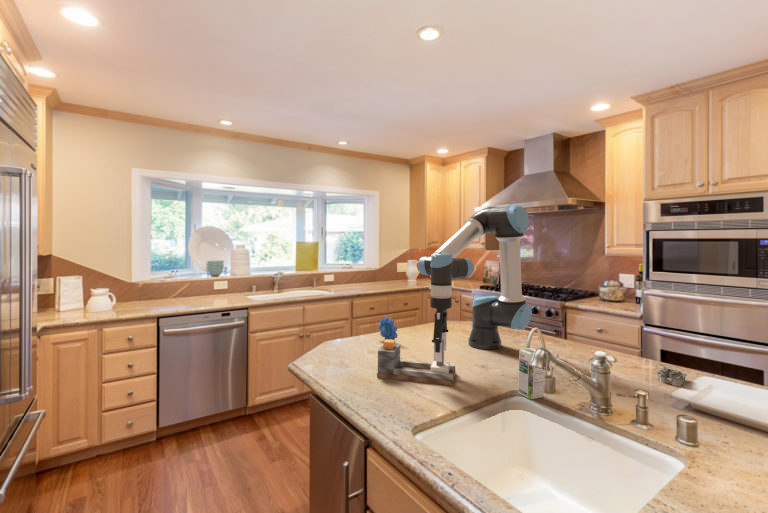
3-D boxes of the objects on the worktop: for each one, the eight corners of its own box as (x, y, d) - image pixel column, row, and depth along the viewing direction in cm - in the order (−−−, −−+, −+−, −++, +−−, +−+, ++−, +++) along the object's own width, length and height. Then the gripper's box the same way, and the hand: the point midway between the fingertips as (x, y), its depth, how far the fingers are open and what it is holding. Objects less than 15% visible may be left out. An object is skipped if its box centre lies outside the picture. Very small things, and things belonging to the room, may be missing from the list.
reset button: (395, 347, 142) (395, 340, 142) (392, 350, 139) (392, 342, 138) (386, 347, 143) (386, 339, 143) (383, 349, 139) (383, 341, 139)
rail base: (455, 373, 140) (455, 348, 140) (452, 385, 129) (452, 358, 128) (385, 366, 148) (385, 342, 147) (376, 377, 136) (377, 351, 136)
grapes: (372, 341, 184) (373, 316, 184) (382, 338, 189) (382, 314, 189) (391, 345, 176) (391, 320, 176) (400, 342, 182) (400, 318, 181)
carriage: (449, 370, 139) (449, 338, 138) (447, 377, 132) (447, 343, 131) (433, 368, 140) (433, 336, 140) (430, 375, 133) (430, 341, 133)
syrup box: (517, 393, 123) (518, 349, 122) (531, 390, 125) (532, 347, 124) (530, 400, 117) (531, 354, 117) (544, 397, 120) (545, 352, 119)
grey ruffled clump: (679, 388, 128) (680, 377, 128) (654, 381, 134) (654, 370, 134) (688, 381, 134) (689, 370, 134) (664, 375, 140) (664, 364, 140)
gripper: (435, 291, 148) (434, 345, 149) (424, 301, 124) (424, 365, 125) (454, 292, 146) (454, 346, 147) (447, 302, 122) (447, 367, 123)
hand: (440, 355), depth 136 cm, fingers open, 13 cm apart
